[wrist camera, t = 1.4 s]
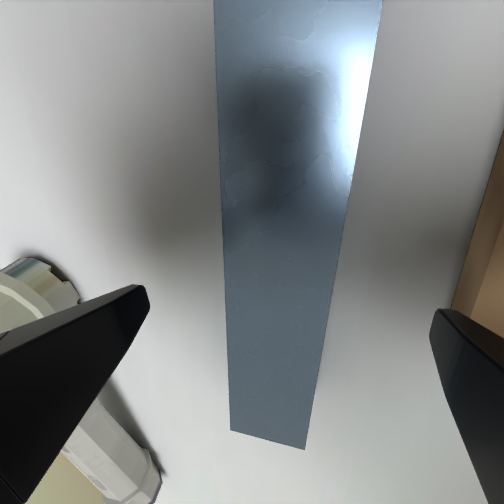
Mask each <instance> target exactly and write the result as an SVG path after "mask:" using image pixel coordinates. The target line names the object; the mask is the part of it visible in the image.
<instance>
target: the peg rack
mask: <svg viewBox="0 0 504 504" xmlns="http://www.w3.org/2000/svg"><path fill="white" fill-rule="evenodd" d="M451 309H454V310H457V311H459V312H460V313H462V314H464V315H465V316H467V317H469V318H470V319H472V320H474V321H475V322H477V323H479V324H481V325H482V326H484V327H486V328H487V329H489V330H491V331H492V332H494V333H496V334H497V335H499V336H501V337H502V338H504V132H503V135H502V139H501V142H500V145H499V149H498V152H497V155H496V159H495V162H494V165H493V169H492V172H491V175H490V179H489V182H488V185H487V189H486V192H485V195H484V199H483V202H482V205H481V209H480V212H479V215H478V219H477V222H476V225H475V229H474V232H473V235H472V239H471V242H470V245H469V249H468V252H467V255H466V259H465V262H464V265H463V269H462V272H461V276H460V279H459V282H458V286H457V289H456V292H455V296H454V299H453V302H452V306H451Z"/></svg>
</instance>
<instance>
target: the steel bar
mask: <svg viewBox="0 0 504 504" xmlns="http://www.w3.org/2000/svg"><path fill="white" fill-rule="evenodd" d="M382 5H383V0H214V26H215V51H216V76H217V102H218V127H219V152H220V178H221V203H222V228H223V254H224V279H225V304H226V330H227V355H228V380H229V406H230V430H232V431H236V432H239V433H243V434H247V435H251V436H254V437H258V438H262V439H265V440H269V441H273V442H277V443H280V444H284V445H288V446H291V447H295V448H299V449H303V450H305V445H306V439H307V434H308V428H309V422H310V416H311V411H312V405H313V399H314V394H315V388H316V382H317V376H318V371H319V365H320V359H321V354H322V348H323V342H324V336H325V331H326V325H327V319H328V314H329V308H330V302H331V296H332V291H333V285H334V279H335V273H336V268H337V262H338V256H339V251H340V245H341V239H342V233H343V228H344V222H345V216H346V211H347V205H348V199H349V193H350V188H351V182H352V176H353V171H354V165H355V159H356V153H357V148H358V142H359V136H360V130H361V125H362V119H363V113H364V108H365V102H366V96H367V90H368V85H369V79H370V73H371V68H372V62H373V56H374V50H375V45H376V39H377V33H378V28H379V22H380V16H381V10H382Z"/></svg>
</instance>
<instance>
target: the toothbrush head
mask: <svg viewBox="0 0 504 504" xmlns="http://www.w3.org/2000/svg"><path fill="white" fill-rule="evenodd" d="M50 271H51V266H50V265H47V264H45V263H43V262H41V261H39V260H36V259H34V258H23V259H18V260H17V261H15V262H13V263H12V264H10V265H8V266H7V267H5V268H3V269H2V270H0V334H1V333H3V332H6V331H11V330H12V329H14V328H17V327H19V326H22V325H25V324H27V323H30V322H33V321H35V320H38V319H41V318H43V317H46V316H49V315H51V314H54V313H57V312H59V311H62V310H65V309H67V308H70V307H73V306H75V305H78V303H77V300H78V299H80V296H79V295H78V293H77V292H76V290H75V289H74V287H73V286H72V285H71V283H70V282H69V281H64V282H62V281H60V280H59V279H58V278H57V277H56V276H54V275H53V274H52V273H51V272H50ZM61 452H62V453H63V454H64V455H65V456H66V457H67V458H68V459H69V460H70V461H71V462H72V463H73V464H74V465H75V466H76V467H77V468H78V469H79V470H80V471H81V472H82V473H83V474H84V475H85V476H86V477H87V478H88V479H89V480H90V481H91V482H92V483H93V484H94V485H95V486H96V487H97V488H98V489H99V490H100V491H101V492H102V497H103V503H105V504H154V503H155V501H156V498H157V496H158V493H159V490H160V488H161V485H162V483H163V482H162V478H161V474H160V471H159V470H158V468H157V467H156V465H155V464H154V462H153V461H152V460H151V457H150V453H149V450H148V449H144V448H141V447H140V446H139V445H138V444H137V443H136V442H135V441H134V440H133V439H132V438H131V437H130V435H129V434H128V433H127V432H126V431H125V430H124V429H123V428H122V427H121V426H120V425H119V424H118V422H117V421H116V420H115V419H114V418H113V417H112V416H111V415H110V414H109V413H108V412H107V411H106V409H105V408H104V407H103V406H102V405H101V404H100V403H99V402H98V401H97V400H96V399H95V400H94V402H93V403H92V405H91V406H90V408H89V409H88V411H87V412H86V414H85V415H84V417H83V418H82V420H81V421H80V423H79V424H78V426H77V427H76V429H75V430H74V432H73V433H72V435H71V436H70V438H69V439H68V441H67V442H66V444H65V445H64V447H63V448H62V450H61Z"/></svg>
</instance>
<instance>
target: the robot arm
mask: <svg viewBox="0 0 504 504" xmlns="http://www.w3.org/2000/svg"><path fill="white" fill-rule="evenodd" d="M149 310H150V303H149V299H148V296H147V292H146V289H145V287H144V286H143V285H135V284H132V285H129V286H126V287H124V288H121V289H118V290H116V291H113V292H110V293H108V294H105V295H102V296H99V297H97V298H94V299H91V300H89V301H86V302H83V303H81V304H78V305H75V306H73V307H70V308H67V309H65V310H62V311H59V312H57V313H54V314H51V315H49V316H46V317H43V318H41V319H38V320H35V321H33V322H30V323H27V324H25V325H22V326H19V327H17V328H14V329H12V330H11V331H6V332H3V333H1V334H0V504H25V503H26V502H27V500H28V499H29V497H30V496H31V494H32V493H33V491H34V490H35V488H36V487H37V485H38V484H39V482H40V481H41V479H42V478H43V476H44V475H45V473H46V472H47V470H48V469H49V467H50V466H51V464H52V463H53V461H54V460H55V458H56V457H57V456H58V454H59V452H60V451H61V450H62V448H63V447H64V445H65V444H66V442H67V441H68V439H69V438H70V436H71V435H72V433H73V432H74V430H75V429H76V427H77V426H78V424H79V423H80V421H81V420H82V418H83V417H84V415H85V414H86V412H87V411H88V409H89V408H90V406H91V405H92V403H93V402H94V400H95V399H96V397H97V396H98V394H99V393H100V391H101V390H102V388H103V387H104V385H105V384H106V382H107V381H108V379H109V378H110V376H111V375H112V373H113V372H114V370H115V369H116V367H117V366H118V364H119V363H120V361H121V360H122V358H123V357H124V355H125V354H126V352H127V351H128V349H129V347H130V345H131V344H132V342H133V340H134V338H135V336H136V335H137V333H138V331H139V329H140V327H141V325H142V324H143V322H144V320H145V318H146V316H147V314H148V312H149ZM429 339H430V344H431V347H432V351H433V355H434V358H435V362H436V365H437V369H438V373H439V376H440V380H441V384H442V387H443V390H444V394H445V397H446V399H447V402H448V405H449V407H450V410H451V412H452V415H453V417H454V420H455V422H456V425H457V427H458V429H459V432H460V434H461V437H462V439H463V442H464V444H465V447H466V449H467V452H468V454H469V457H470V459H471V462H472V464H473V467H474V469H475V472H476V474H477V476H478V479H479V481H480V484H481V486H482V489H483V491H484V494H485V496H486V499H487V501H488V504H504V338H502V337H501V336H499V335H497V334H496V333H494V332H492V331H491V330H489V329H487V328H486V327H484V326H482V325H481V324H479V323H477V322H475V321H474V320H472V319H470V318H469V317H467V316H465V315H464V314H462V313H460V312H459V311H457V310H454V309H437V310H436V312H435V314H434V317H433V321H432V325H431V329H430V333H429Z"/></svg>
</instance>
